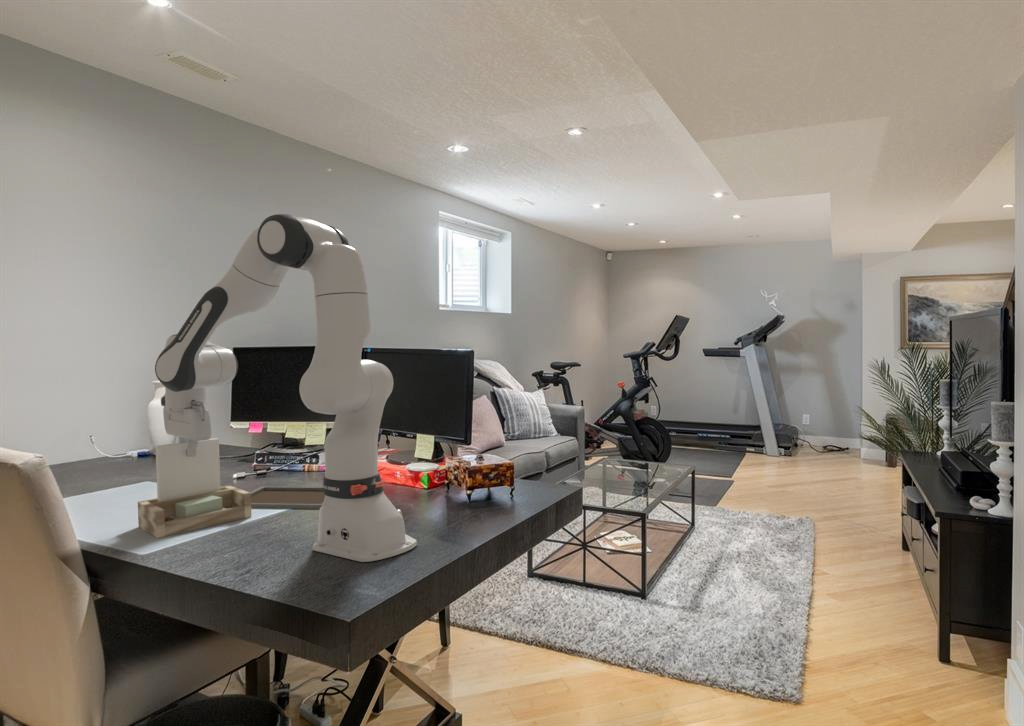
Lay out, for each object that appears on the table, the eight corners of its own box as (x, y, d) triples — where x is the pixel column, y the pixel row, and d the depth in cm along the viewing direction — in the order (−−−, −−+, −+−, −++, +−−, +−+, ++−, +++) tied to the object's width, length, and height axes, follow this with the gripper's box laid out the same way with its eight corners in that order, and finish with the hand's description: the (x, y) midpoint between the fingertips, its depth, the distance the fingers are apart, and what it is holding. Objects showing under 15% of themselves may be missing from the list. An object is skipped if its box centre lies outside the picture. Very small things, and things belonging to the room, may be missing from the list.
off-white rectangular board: (221, 509, 155) (218, 438, 155) (160, 522, 145) (157, 446, 144) (218, 508, 156) (216, 438, 156) (158, 520, 146) (155, 445, 145)
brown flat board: (324, 504, 158) (215, 503, 161) (325, 511, 158) (215, 509, 161) (351, 487, 177) (252, 486, 180) (351, 492, 177) (253, 491, 180)
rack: (251, 516, 152) (250, 492, 152) (157, 538, 136) (156, 511, 136) (229, 507, 160) (228, 485, 160) (138, 526, 145) (137, 501, 145)
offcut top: (222, 509, 149) (222, 497, 149) (186, 519, 142) (185, 506, 142) (211, 507, 152) (211, 495, 152) (175, 516, 144) (175, 503, 144)
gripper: (217, 400, 145) (219, 458, 145) (184, 396, 159) (186, 449, 159) (189, 402, 140) (191, 462, 141) (157, 398, 154) (160, 453, 155)
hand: (188, 455), depth 150 cm, fingers closed on off-white rectangular board, 2 cm apart
